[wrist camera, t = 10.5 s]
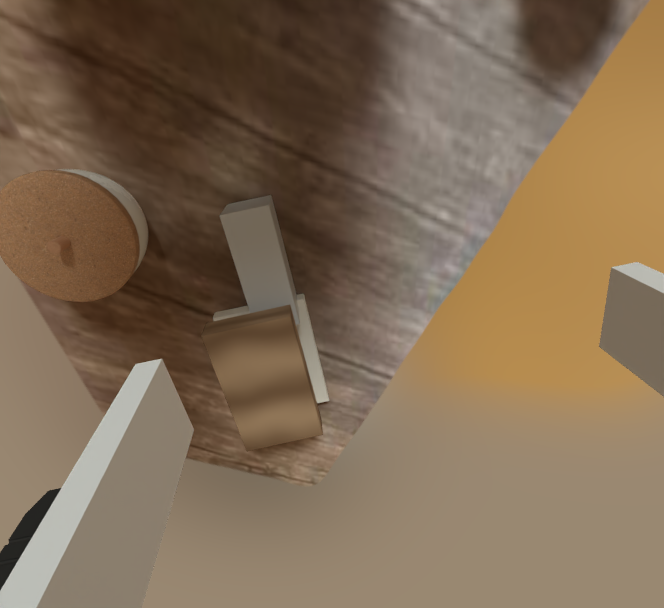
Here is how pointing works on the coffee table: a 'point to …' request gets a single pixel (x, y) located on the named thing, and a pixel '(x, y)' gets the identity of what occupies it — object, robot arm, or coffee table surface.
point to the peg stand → (306, 343)
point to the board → (264, 377)
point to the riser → (259, 254)
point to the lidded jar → (71, 233)
